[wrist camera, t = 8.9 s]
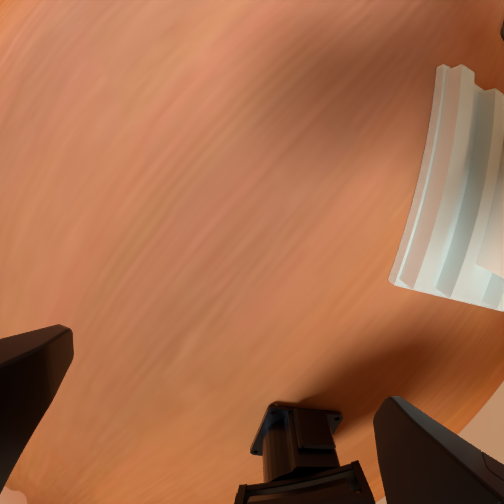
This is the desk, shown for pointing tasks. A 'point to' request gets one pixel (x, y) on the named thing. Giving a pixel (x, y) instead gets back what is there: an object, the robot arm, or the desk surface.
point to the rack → (454, 194)
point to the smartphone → (502, 31)
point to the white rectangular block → (495, 229)
